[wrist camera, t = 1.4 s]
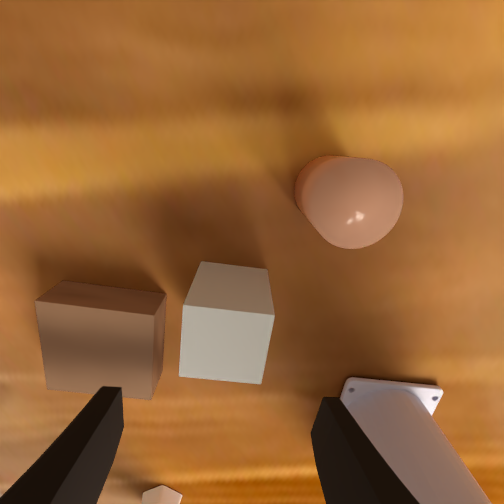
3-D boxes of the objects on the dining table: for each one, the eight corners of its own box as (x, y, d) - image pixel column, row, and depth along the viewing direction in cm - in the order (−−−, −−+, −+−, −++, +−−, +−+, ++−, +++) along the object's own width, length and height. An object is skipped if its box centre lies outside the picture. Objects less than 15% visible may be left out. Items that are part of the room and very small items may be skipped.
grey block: (257, 324, 20) (261, 384, 15) (196, 317, 20) (178, 376, 15) (267, 269, 19) (274, 315, 13) (201, 260, 18) (182, 304, 13)
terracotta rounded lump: (349, 225, 18) (386, 253, 13) (288, 217, 17) (303, 243, 13) (367, 160, 16) (416, 166, 11) (301, 150, 16) (323, 151, 11)
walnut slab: (163, 367, 22) (151, 400, 19) (73, 357, 21) (47, 389, 19) (167, 291, 19) (154, 315, 17) (66, 278, 19) (34, 300, 16)
